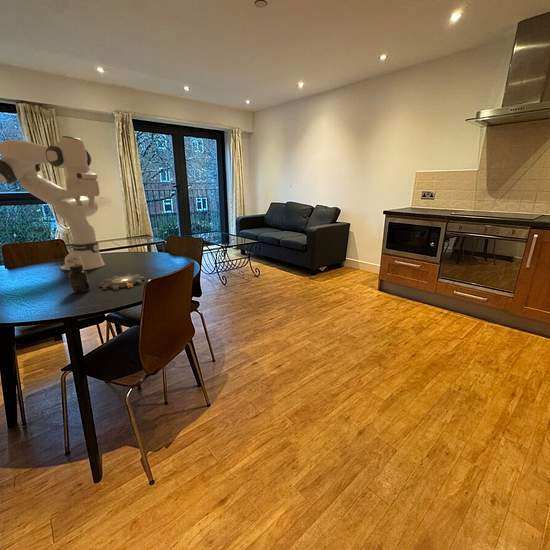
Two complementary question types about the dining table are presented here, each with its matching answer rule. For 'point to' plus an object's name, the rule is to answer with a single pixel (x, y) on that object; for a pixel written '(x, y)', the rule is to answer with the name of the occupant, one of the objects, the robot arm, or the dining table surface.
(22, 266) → the dining table surface
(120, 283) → the sprocket plate
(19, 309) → the dining table surface
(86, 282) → the supplement bottle
